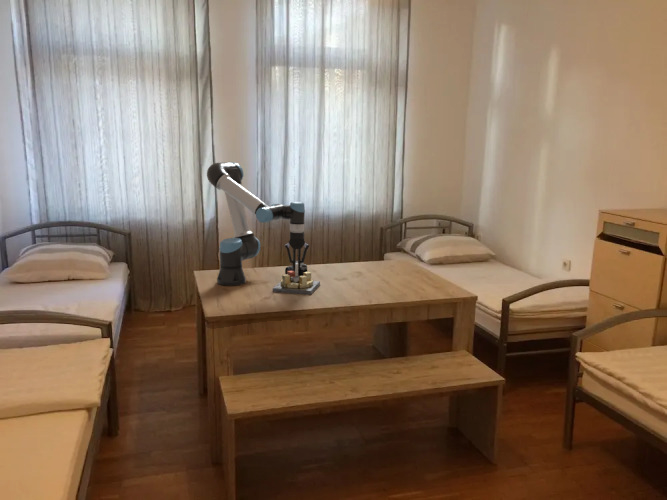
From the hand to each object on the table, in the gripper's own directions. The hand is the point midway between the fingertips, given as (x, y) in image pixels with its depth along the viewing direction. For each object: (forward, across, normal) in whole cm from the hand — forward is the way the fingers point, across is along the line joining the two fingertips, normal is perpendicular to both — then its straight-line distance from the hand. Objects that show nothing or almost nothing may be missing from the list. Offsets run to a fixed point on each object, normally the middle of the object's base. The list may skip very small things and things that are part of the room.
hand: (296, 275), depth 306 cm
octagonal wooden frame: (+3, 0, -6) cm, 7 cm away
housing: (+5, 0, -6) cm, 8 cm away
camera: (+6, 0, +16) cm, 17 cm away
